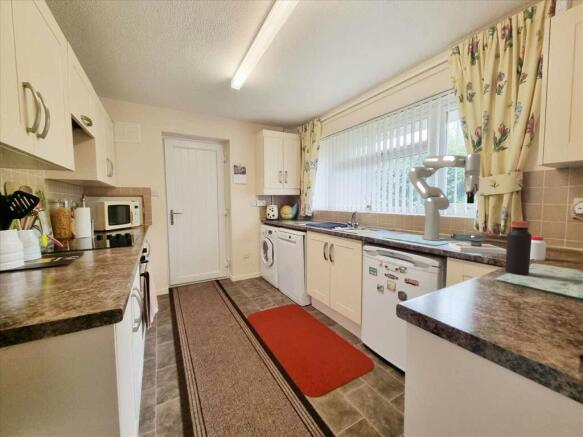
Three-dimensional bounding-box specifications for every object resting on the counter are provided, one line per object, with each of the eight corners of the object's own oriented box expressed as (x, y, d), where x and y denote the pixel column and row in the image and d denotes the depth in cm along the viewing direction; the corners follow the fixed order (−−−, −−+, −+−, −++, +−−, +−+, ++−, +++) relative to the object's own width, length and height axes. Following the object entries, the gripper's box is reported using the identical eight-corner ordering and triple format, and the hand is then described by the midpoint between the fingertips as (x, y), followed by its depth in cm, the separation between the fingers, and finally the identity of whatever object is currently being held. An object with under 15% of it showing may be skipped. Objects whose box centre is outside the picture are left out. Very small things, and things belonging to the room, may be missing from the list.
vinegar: (531, 273, 92) (535, 221, 91) (525, 276, 89) (529, 222, 87) (508, 269, 98) (511, 220, 97) (502, 271, 94) (505, 221, 93)
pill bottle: (540, 257, 121) (541, 236, 120) (548, 261, 114) (550, 238, 113) (520, 256, 124) (521, 235, 123) (527, 259, 117) (528, 236, 116)
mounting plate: (448, 246, 150) (448, 241, 150) (489, 248, 144) (490, 243, 144) (460, 251, 133) (460, 246, 133) (507, 254, 128) (507, 249, 127)
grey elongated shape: (479, 244, 141) (480, 234, 141) (487, 246, 134) (488, 235, 134) (447, 243, 145) (448, 233, 144) (453, 245, 137) (454, 234, 137)
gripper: (459, 175, 158) (458, 203, 159) (471, 172, 143) (469, 203, 144) (472, 175, 156) (470, 203, 157) (485, 172, 142) (483, 203, 143)
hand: (470, 203), depth 151 cm, fingers closed
